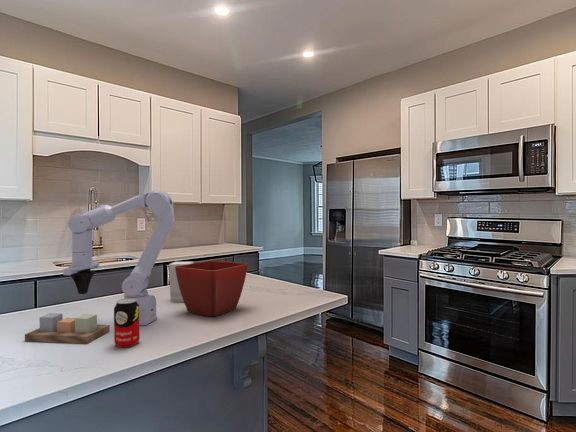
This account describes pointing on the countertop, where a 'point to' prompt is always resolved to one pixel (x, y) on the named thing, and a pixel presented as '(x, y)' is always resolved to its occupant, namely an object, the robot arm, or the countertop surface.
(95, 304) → the countertop surface
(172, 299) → the skincare box
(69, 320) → the terracotta block
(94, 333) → the board
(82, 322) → the sage block
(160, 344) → the countertop surface
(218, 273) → the plant pot
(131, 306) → the beverage can
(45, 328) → the slate block
